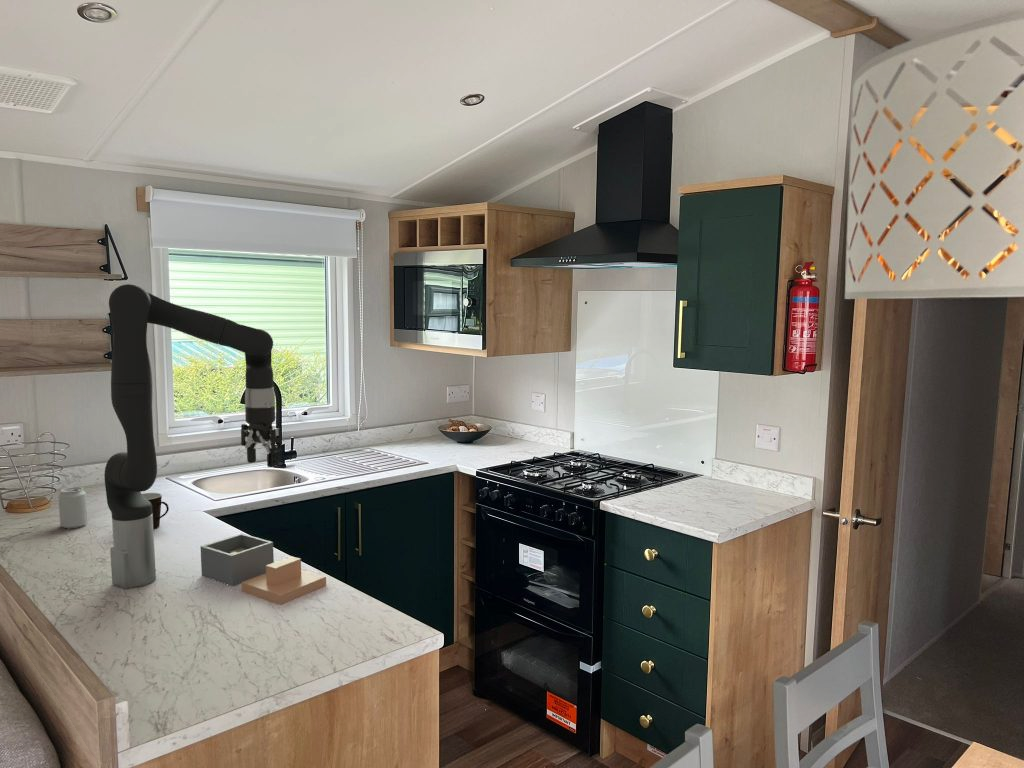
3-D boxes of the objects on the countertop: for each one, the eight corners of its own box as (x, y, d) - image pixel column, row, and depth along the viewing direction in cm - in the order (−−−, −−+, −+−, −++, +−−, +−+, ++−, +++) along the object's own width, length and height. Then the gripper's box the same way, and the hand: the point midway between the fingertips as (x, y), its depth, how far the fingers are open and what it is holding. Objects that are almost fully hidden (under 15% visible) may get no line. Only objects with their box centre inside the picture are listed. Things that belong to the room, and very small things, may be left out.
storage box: (232, 586, 192) (231, 555, 191) (201, 575, 199) (200, 546, 198) (274, 571, 203) (273, 542, 202) (243, 561, 210) (242, 533, 209)
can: (91, 525, 240) (89, 488, 239) (65, 531, 235) (62, 493, 234) (83, 520, 246) (80, 484, 244) (57, 526, 240) (54, 488, 239)
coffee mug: (128, 527, 239) (126, 496, 238) (156, 521, 245) (155, 491, 244) (143, 535, 231) (141, 503, 230) (172, 529, 237) (170, 498, 236)
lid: (280, 604, 181) (279, 577, 180) (241, 591, 189) (240, 564, 188) (326, 585, 193) (325, 559, 192) (287, 573, 201) (287, 548, 200)
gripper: (231, 403, 204) (233, 463, 205) (264, 408, 195) (266, 470, 197) (255, 400, 210) (257, 458, 211) (288, 405, 201) (290, 465, 203)
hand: (261, 464), depth 204 cm, fingers open, 8 cm apart
